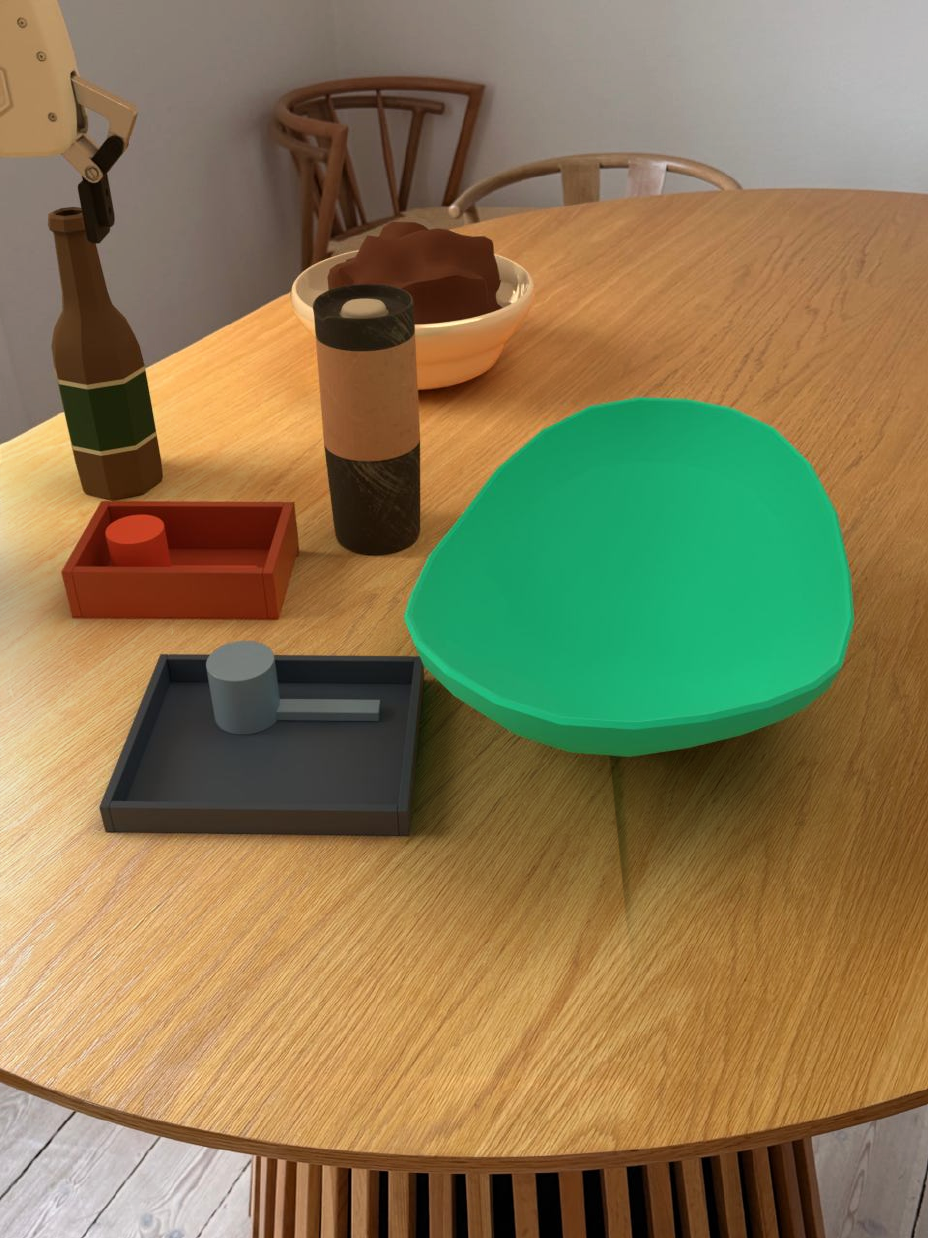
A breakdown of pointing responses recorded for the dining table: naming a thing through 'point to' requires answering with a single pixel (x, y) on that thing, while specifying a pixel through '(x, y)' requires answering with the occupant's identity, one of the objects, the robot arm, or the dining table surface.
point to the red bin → (189, 563)
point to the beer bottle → (100, 373)
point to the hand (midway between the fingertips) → (30, 237)
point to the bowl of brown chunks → (434, 295)
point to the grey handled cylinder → (267, 693)
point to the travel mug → (370, 415)
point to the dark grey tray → (271, 755)
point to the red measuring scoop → (141, 543)
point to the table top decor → (640, 583)
